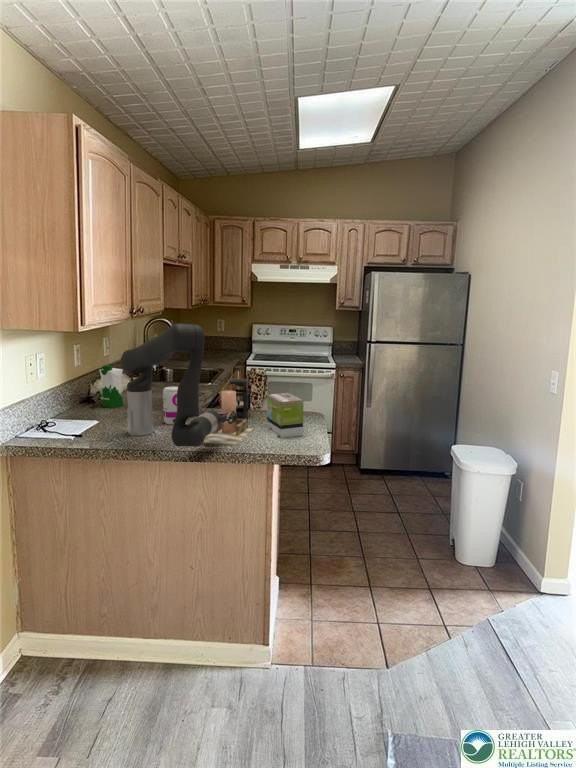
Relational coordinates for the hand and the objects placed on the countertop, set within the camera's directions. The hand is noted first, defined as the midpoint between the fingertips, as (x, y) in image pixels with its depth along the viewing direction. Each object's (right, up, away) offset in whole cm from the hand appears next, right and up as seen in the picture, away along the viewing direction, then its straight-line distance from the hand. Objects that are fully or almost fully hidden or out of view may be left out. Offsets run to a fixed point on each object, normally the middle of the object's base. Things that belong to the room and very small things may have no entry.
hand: (223, 412), depth 204 cm
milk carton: (-60, 0, +54) cm, 81 cm away
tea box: (+23, -9, +11) cm, 27 cm away
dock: (0, -9, +4) cm, 10 cm away
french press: (+3, -4, +35) cm, 36 cm away
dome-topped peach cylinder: (+2, -7, +9) cm, 12 cm away
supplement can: (-24, -6, +25) cm, 35 cm away
